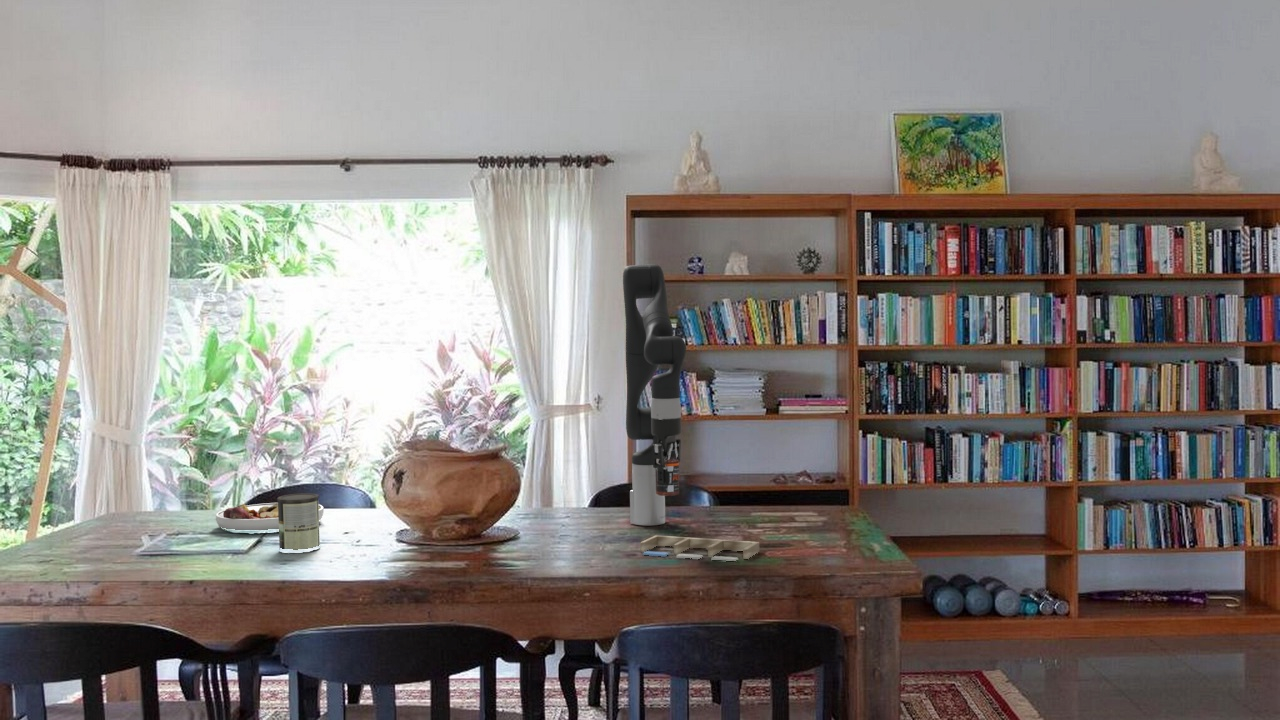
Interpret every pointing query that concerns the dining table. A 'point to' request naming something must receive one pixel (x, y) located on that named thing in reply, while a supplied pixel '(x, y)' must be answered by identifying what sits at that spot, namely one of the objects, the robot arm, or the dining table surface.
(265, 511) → the bowl
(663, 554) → the bezel tiles
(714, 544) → the divider rack
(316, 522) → the coffee can
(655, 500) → the robot arm
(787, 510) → the dining table surface
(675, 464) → the supplement bottle
